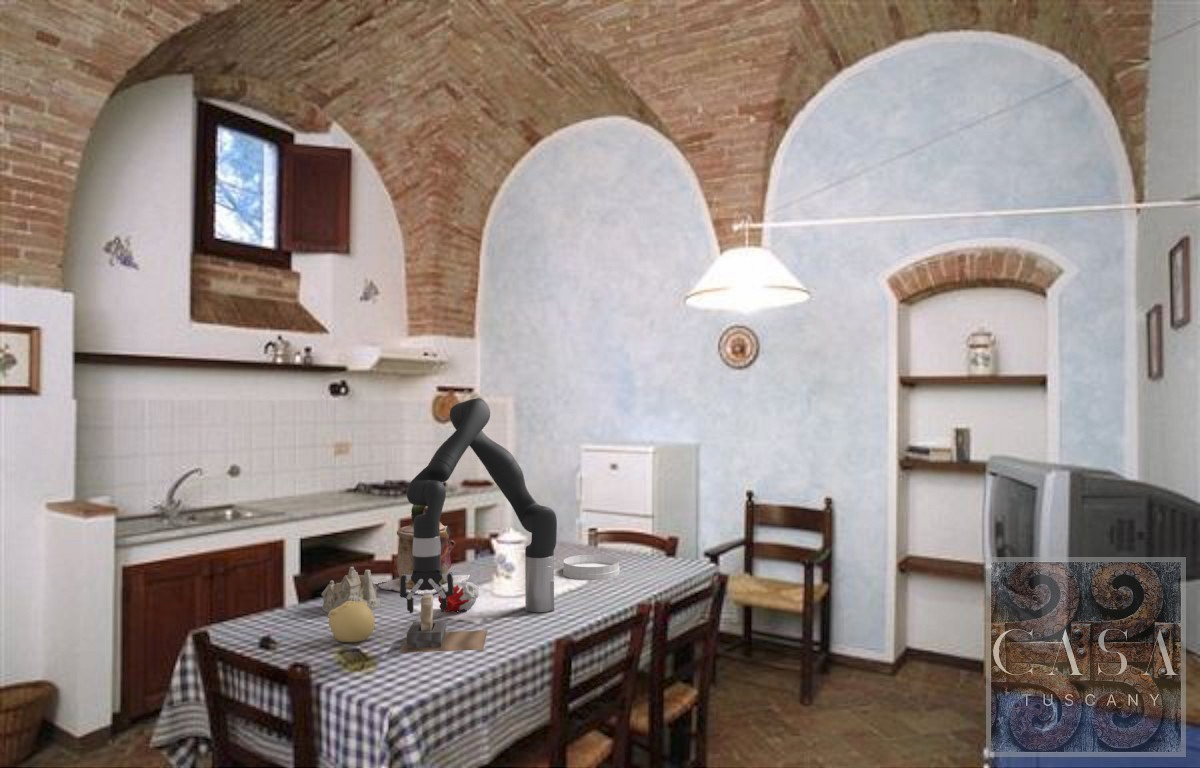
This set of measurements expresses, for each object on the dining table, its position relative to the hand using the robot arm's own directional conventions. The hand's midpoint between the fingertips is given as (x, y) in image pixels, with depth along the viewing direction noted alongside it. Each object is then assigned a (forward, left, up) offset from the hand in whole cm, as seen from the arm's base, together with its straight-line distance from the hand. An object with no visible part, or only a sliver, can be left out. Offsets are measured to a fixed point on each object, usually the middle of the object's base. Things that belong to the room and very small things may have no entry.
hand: (427, 611), depth 203 cm
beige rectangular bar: (0, -1, -8) cm, 8 cm away
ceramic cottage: (+31, -41, -10) cm, 52 cm away
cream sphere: (+22, -8, -10) cm, 26 cm away
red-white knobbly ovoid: (-4, -33, -10) cm, 35 cm away
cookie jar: (+11, -68, -10) cm, 70 cm away
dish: (-51, -80, -10) cm, 96 cm away
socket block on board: (-5, 0, -10) cm, 11 cm away
